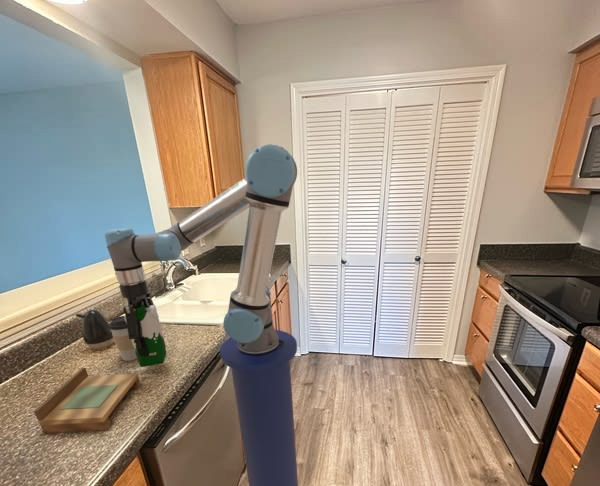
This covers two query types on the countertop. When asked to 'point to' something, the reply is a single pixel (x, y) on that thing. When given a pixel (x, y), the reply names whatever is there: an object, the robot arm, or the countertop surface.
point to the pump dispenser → (96, 330)
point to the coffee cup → (122, 338)
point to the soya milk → (150, 336)
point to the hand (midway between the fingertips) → (150, 348)
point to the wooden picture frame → (84, 402)
